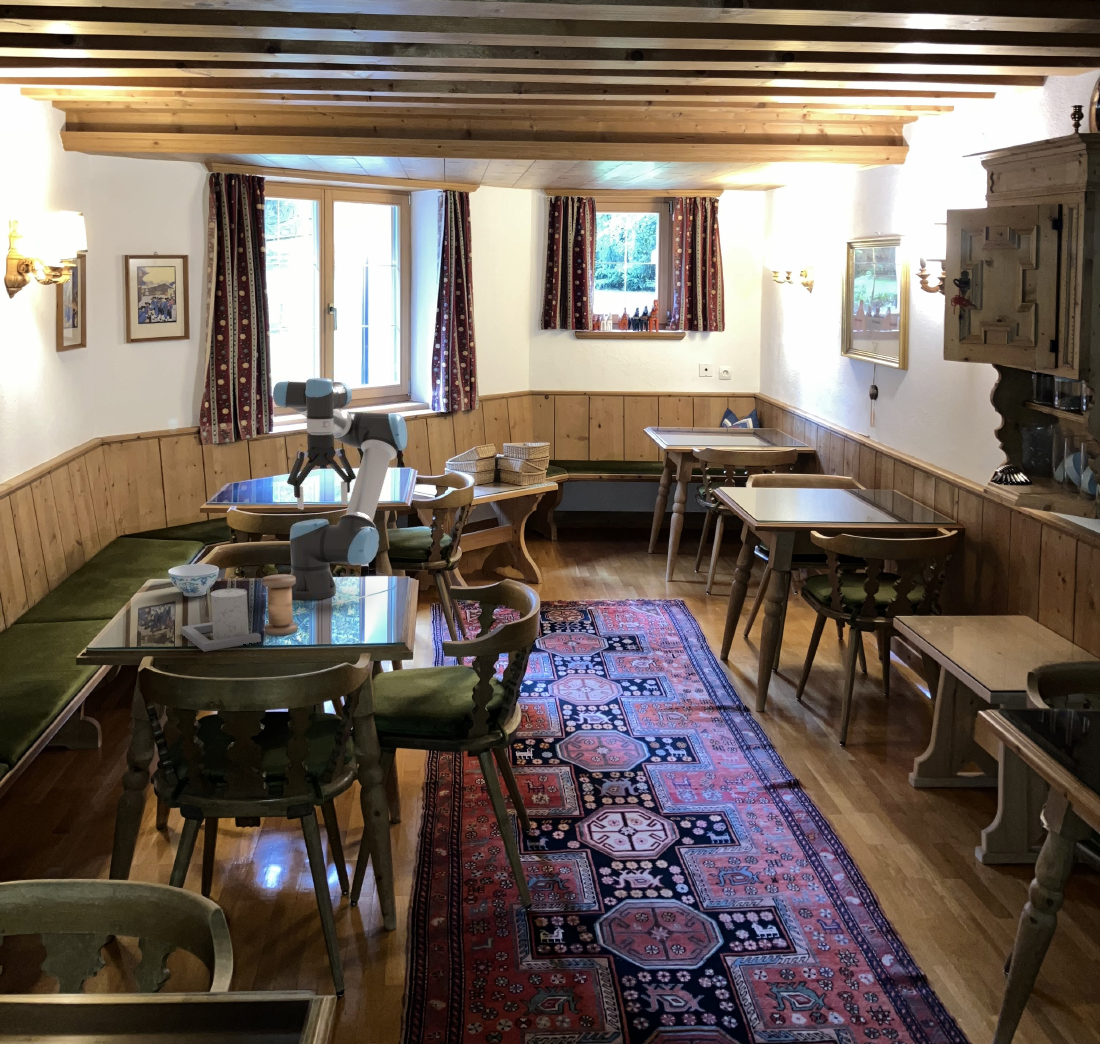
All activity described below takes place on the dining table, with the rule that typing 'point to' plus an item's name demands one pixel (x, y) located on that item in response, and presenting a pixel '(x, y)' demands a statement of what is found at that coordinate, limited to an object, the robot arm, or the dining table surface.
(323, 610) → the dining table surface
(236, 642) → the c-shaped bracket
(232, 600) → the white scuffed cylinder
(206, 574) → the chinaware
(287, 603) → the bobbin
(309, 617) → the dining table surface
